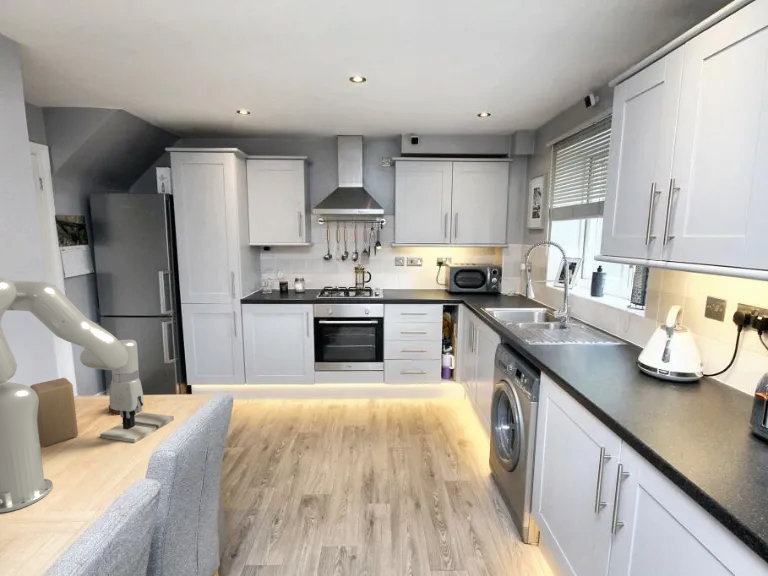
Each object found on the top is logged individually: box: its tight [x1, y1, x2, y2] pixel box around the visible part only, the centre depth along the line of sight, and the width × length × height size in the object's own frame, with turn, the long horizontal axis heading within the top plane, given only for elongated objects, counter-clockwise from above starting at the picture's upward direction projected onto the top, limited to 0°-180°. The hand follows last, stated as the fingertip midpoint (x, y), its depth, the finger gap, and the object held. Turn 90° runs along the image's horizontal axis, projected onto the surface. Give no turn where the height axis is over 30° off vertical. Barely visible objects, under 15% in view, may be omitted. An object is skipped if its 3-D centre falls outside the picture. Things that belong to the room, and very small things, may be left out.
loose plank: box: [99, 422, 157, 443], centre depth 136 cm, size 9×15×1 cm, turn 76°
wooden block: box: [29, 377, 79, 448], centre depth 132 cm, size 10×10×20 cm
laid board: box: [134, 411, 175, 431], centre depth 145 cm, size 8×15×2 cm, turn 76°
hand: (129, 427), depth 132 cm, fingers closed
